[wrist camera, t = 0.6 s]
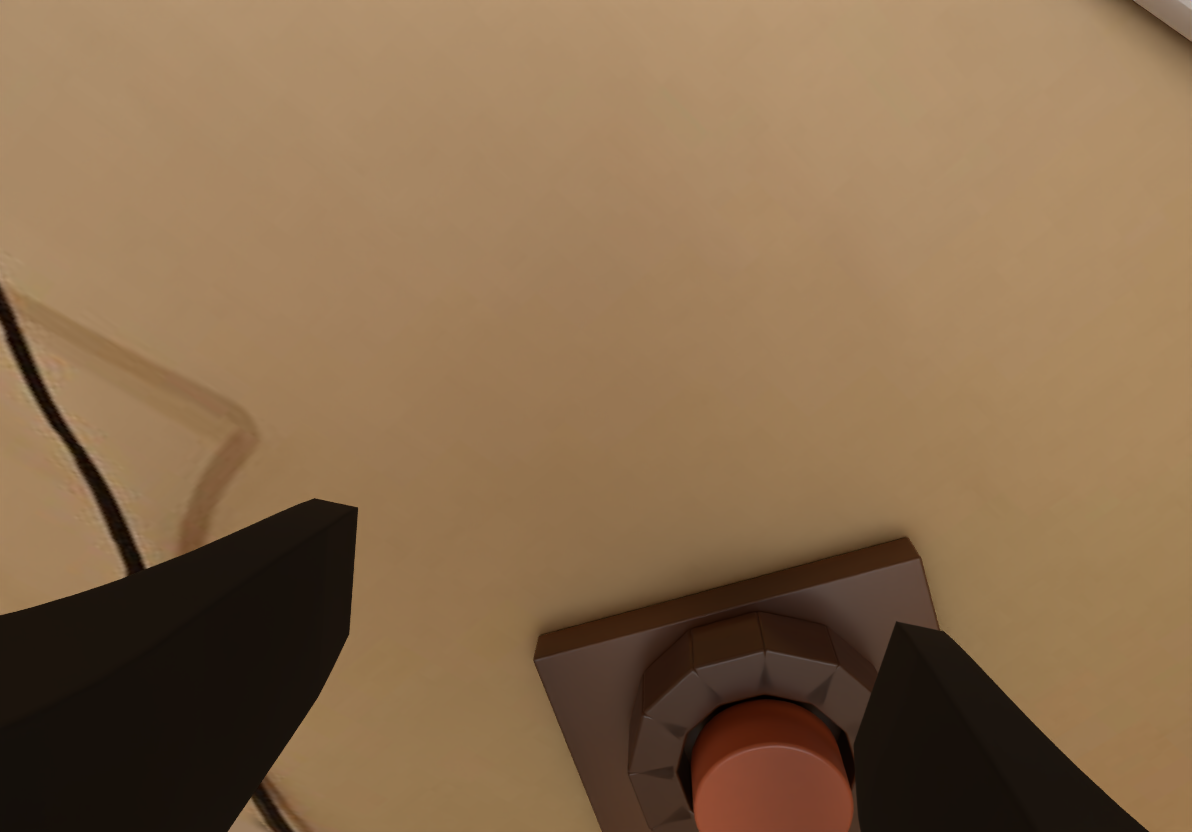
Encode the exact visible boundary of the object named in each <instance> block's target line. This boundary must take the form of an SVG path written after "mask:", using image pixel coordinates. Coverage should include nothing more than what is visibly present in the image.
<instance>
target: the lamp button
mask: <svg viewBox="0 0 1192 832" xmlns="http://www.w3.org/2000/svg"><path fill="white" fill-rule="evenodd" d="M691 777H692V795H693V811H694V819H695V822H696V826H697V828H698V830H699V832H848V831H849V828H850V826H851V822H852V818H853V811H854V803H853V796H852V791H851V788H850V785H849V781H848V778H847V774H846V771H845V768H844V764H843V761H842V758H841V754H840V751H839V747H838V745H837V742H836V740H835V737H834V736H833V734H832V732H831V731H830V729H829V728H828V727H827V726H826V724H825V723H824V722H823V721H822V720H820V719H819V718H818V717H817V716H816V715H814V714H813V713H811V712H810V711H808V710H806V709H805V708H803V707H801V706H798V705H796V704H793V703H790V702H786V701H782V700H775V699H757V700H750V701H745V702H742V703H738V704H735V705H733V706H731V707H728V708H726V709H725V710H723V711H721V712H720V713H718V714H717V715H716V716H714V717H713V718H712V719H711V720H710V721H709V722H708V723H707V724H706V725H705V726H704V728H703V729H702V730H701V732H700V733H699V735H698V737H697V739H696V741H695V743H694V746H693V749H692V754H691Z"/></svg>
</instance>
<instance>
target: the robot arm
mask: <svg viewBox="0 0 1192 832" xmlns="http://www.w3.org/2000/svg"><path fill="white" fill-rule="evenodd" d="M357 516H358V507H353V506H348V505H344V504H339V503H334V502H329V501H325V500H320V499H315V498H314V499H311V500H309V501H306V502H303V503H300V504H298V505H295V506H293V507H291V508H288V509H286V510H284V511H281V512H279V513H277V514H275V515H272V516H270V517H268V518H266V519H264V520H261V521H259V522H257V523H255V524H252V525H250V526H248V527H246V528H244V529H241V530H239V531H237V532H235V533H232V534H230V535H228V536H225V537H223V538H221V539H219V540H216V541H214V542H212V543H210V544H207V545H205V546H203V547H200V548H198V549H196V550H194V551H191V552H189V553H186V554H184V555H181V556H179V557H176V558H173V559H171V560H168V561H166V562H163V563H161V564H158V565H156V566H153V567H150V568H148V569H145V570H143V571H140V572H138V573H135V574H133V575H130V576H127V577H125V578H122V579H120V580H117V581H114V582H111V583H108V584H105V585H103V586H100V587H97V588H94V589H91V590H88V591H84V592H81V593H78V594H75V595H72V596H68V597H65V598H62V599H58V600H55V601H52V602H48V603H45V604H42V605H38V606H35V607H31V608H28V609H24V610H20V611H17V612H13V613H8V614H4V615H0V832H228V830H229V829H230V827H231V826H232V824H233V823H234V821H235V820H236V818H237V817H238V815H239V814H240V812H241V811H242V810H243V808H244V807H245V805H246V804H247V802H248V801H249V799H250V798H251V796H252V795H253V793H254V792H255V790H256V789H257V787H258V786H259V784H260V783H261V782H262V780H263V779H264V777H265V776H266V774H267V773H268V771H269V770H270V768H271V767H272V765H273V764H274V762H275V761H276V759H277V758H278V757H279V755H280V754H281V752H282V751H283V749H284V748H285V746H286V745H287V743H288V742H289V740H290V739H291V737H292V736H293V734H294V733H295V731H296V730H297V728H298V727H299V725H300V724H301V722H302V721H303V719H304V718H305V716H306V715H307V713H308V712H309V710H310V709H311V707H312V706H313V704H314V703H315V701H316V699H317V698H318V696H319V694H320V692H321V690H322V689H323V687H324V685H325V683H326V681H327V679H328V677H329V675H330V673H331V671H332V669H333V667H334V665H335V663H336V661H337V658H338V656H339V654H340V652H341V650H342V648H343V646H344V644H345V642H346V640H347V638H348V635H349V630H350V615H351V601H352V587H353V573H354V559H355V544H356V530H357ZM853 748H854V767H855V785H856V798H857V810H858V820H859V825H860V831H861V832H1149V831H1148V830H1146V829H1145V828H1144V827H1143V826H1142V825H1141V824H1139V823H1138V822H1137V821H1136V820H1135V819H1134V818H1133V817H1131V816H1130V815H1129V814H1128V813H1127V812H1126V811H1125V810H1123V809H1122V808H1121V807H1120V806H1119V805H1118V804H1117V803H1116V802H1115V801H1114V800H1112V799H1111V798H1110V797H1109V796H1108V795H1107V794H1106V793H1105V792H1104V791H1103V790H1102V789H1101V788H1100V787H1098V786H1097V785H1096V784H1095V783H1094V782H1093V781H1092V780H1091V779H1090V778H1089V777H1088V776H1087V775H1085V774H1084V773H1083V772H1082V771H1081V770H1080V769H1079V768H1078V767H1077V766H1076V765H1075V764H1074V763H1073V762H1072V761H1071V760H1070V759H1069V758H1068V757H1067V756H1066V755H1065V754H1064V753H1063V752H1062V751H1061V750H1060V749H1059V748H1058V747H1056V746H1055V745H1054V743H1053V742H1052V741H1051V740H1050V739H1049V738H1048V737H1047V736H1046V735H1045V734H1044V733H1043V732H1042V731H1041V730H1040V729H1039V728H1038V727H1037V726H1036V725H1035V724H1034V723H1033V722H1032V721H1031V720H1030V719H1029V718H1028V717H1027V716H1026V715H1025V714H1024V713H1023V712H1022V711H1021V710H1020V709H1019V708H1018V707H1017V706H1016V705H1015V703H1014V702H1013V701H1012V700H1011V699H1010V698H1009V697H1008V696H1007V695H1006V694H1005V693H1004V692H1003V691H1002V690H1001V689H1000V688H999V687H998V686H997V685H996V683H995V682H994V681H993V680H992V679H991V678H990V677H989V676H988V675H987V674H986V673H985V672H984V671H983V670H982V669H981V668H980V667H979V666H978V664H977V663H976V662H975V661H974V660H973V659H972V658H971V657H970V656H969V655H968V654H967V653H966V652H965V651H964V650H963V649H962V648H961V647H960V646H959V645H958V644H957V643H956V642H955V641H954V640H953V639H952V638H951V637H949V636H948V635H947V634H946V633H945V632H944V631H940V630H935V629H931V628H926V627H921V626H916V625H912V624H907V623H902V622H897V621H896V623H895V626H894V629H893V632H892V634H891V637H890V640H889V643H888V646H887V649H886V652H885V655H884V658H883V660H882V663H881V666H880V669H879V672H878V675H877V678H876V681H875V684H874V687H873V689H872V692H871V695H870V698H869V701H868V704H867V707H866V710H865V713H864V715H863V718H862V721H861V724H860V727H859V730H858V733H857V736H856V739H855V742H854V744H853Z"/></svg>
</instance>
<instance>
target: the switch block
mask: <svg viewBox="0 0 1192 832" xmlns="http://www.w3.org/2000/svg"><path fill="white" fill-rule="evenodd" d="M896 621H897V622H902V623H907V624H912V625H916V626H921V627H926V628H931V629H935V630H940V628H939V625H938V621H937V617H936V613H935V609H934V605H933V602H932V598H931V594H930V590H929V586H928V582H927V578H926V575H925V571H924V567H923V563H922V559H921V557H920V555H919V554H918V552H917V550H916V549H915V547H914V546H913V544H912V542H911V541H910V539H909V538H902V539H899V540H895V541H891V542H887V543H884V544H880V545H876V546H872V547H869V548H865V549H861V550H858V551H854V552H850V553H846V554H843V555H839V556H835V557H831V558H828V559H824V560H820V561H817V562H813V563H809V564H805V565H802V566H798V567H794V568H791V569H787V570H783V571H779V572H776V573H772V574H768V575H764V576H761V577H757V578H753V579H750V580H746V581H742V582H738V583H735V584H731V585H727V586H723V587H720V588H716V589H712V590H709V591H705V592H701V593H697V594H694V595H690V596H686V597H683V598H679V599H675V600H671V601H668V602H664V603H660V604H656V605H653V606H649V607H645V608H642V609H638V610H634V611H630V612H627V613H623V614H619V615H615V616H612V617H608V618H604V619H601V620H597V621H593V622H589V623H586V624H582V625H578V626H574V627H571V628H567V629H563V630H560V631H556V632H552V633H548V634H545V635H541V636H539V637H538V642H537V646H536V650H535V654H534V659H533V661H534V663H535V666H536V668H537V671H538V673H539V676H540V678H541V681H542V683H543V686H544V688H545V691H546V693H547V696H548V698H549V701H550V703H551V706H552V708H553V711H554V713H555V716H556V718H557V721H558V723H559V726H560V728H561V731H562V733H563V736H564V738H565V741H566V743H567V746H568V748H569V750H570V753H571V755H572V758H573V760H574V763H575V765H576V768H577V770H578V773H579V775H580V778H581V780H582V783H583V785H584V788H585V790H586V793H587V795H588V798H589V800H590V803H591V805H592V808H593V810H594V813H595V815H596V818H597V820H598V823H599V825H600V828H601V830H602V832H699V830H698V828H697V826H696V822H695V819H694V811H693V795H692V777H691V754H692V749H693V746H694V743H695V741H696V739H697V737H698V735H699V733H700V732H701V730H702V729H703V728H704V726H705V725H706V724H707V723H708V722H709V721H710V720H711V719H712V718H713V717H714V716H716V715H717V714H718V713H720V712H721V711H723V710H725V709H726V708H728V707H731V706H733V705H735V704H738V703H742V702H745V701H750V700H757V699H775V700H782V701H786V702H790V703H793V704H796V705H798V706H801V707H803V708H805V709H806V710H808V711H810V712H811V713H813V714H814V715H816V716H817V717H818V718H819V719H820V720H822V721H823V722H824V723H825V724H826V726H827V727H828V728H829V729H830V731H831V732H832V734H833V736H834V737H835V740H836V742H837V745H838V747H839V751H840V754H841V758H842V761H843V764H844V768H845V771H846V774H847V778H848V781H849V785H850V788H851V791H852V796H853V803H854V811H853V818H852V822H851V826H850V828H849V831H848V832H861V831H860V825H859V820H858V810H857V798H856V785H855V767H854V748H853V744H854V742H855V739H856V736H857V733H858V730H859V727H860V724H861V721H862V718H863V715H864V713H865V710H866V707H867V704H868V701H869V698H870V695H871V692H872V689H873V687H874V684H875V681H876V678H877V675H878V672H879V669H880V666H881V663H882V660H883V658H884V655H885V652H886V649H887V646H888V643H889V640H890V637H891V634H892V632H893V629H894V626H895V623H896Z"/></svg>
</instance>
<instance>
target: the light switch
mask: <svg viewBox="0 0 1192 832" xmlns="http://www.w3.org/2000/svg"><path fill="white" fill-rule="evenodd" d="M1133 1H1135V2H1136V3H1138V4H1139V5H1140V6H1142V7H1143V8H1145V9H1146V10H1147V11H1149V12H1150V13H1152V14H1153V15H1155V16H1156V17H1157V18H1159V19H1160V20H1162V21H1163V22H1164V23H1166V24H1167V25H1169V26H1170V27H1172V28H1173V29H1174V30H1176V31H1177V32H1179V33H1180V34H1181V35H1183V36H1184V37H1186V38H1187V39H1189V40H1190V41H1191V42H1192V0H1133Z"/></svg>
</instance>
